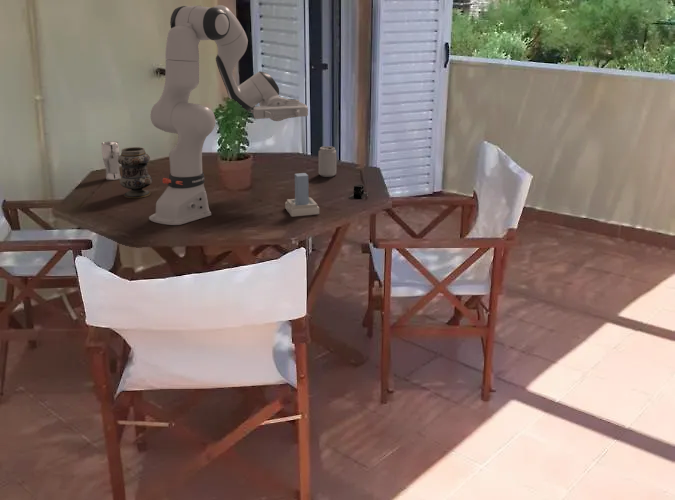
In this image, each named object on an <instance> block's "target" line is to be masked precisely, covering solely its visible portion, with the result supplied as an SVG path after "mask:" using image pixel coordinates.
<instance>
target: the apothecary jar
mask: <svg viewBox="0 0 675 500" xmlns="http://www.w3.org/2000/svg"><path fill="white" fill-rule="evenodd" d="M150 159H151V158H150V156H149V154H148V153H146V149H145V148H144V147H141V146H131V147H130V146H129V147H124V148H122V149H121V153H120V156H119V157H118V162H119V165H121V172H122V173H121V175H122V176H121V178H120V179H119V184H120V185H121V186H122V187H123V188H125V189H129V190H128V191H127V192H125V193H124V197H125V198H127V199H140V198H141V199H142V198H146V197H149V196H150V195H151V193H152V192H151V191H149V190H146V189H144V188H147V187H149V186H150V185H151V184H152V182H153V178H152V176H151V175H150V174H149V171H148V170H149V169H148V163H149V162H150V161H151V160H150Z"/></svg>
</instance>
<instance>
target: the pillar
mask: <svg viewBox="0 0 675 500" xmlns="http://www.w3.org/2000/svg"><path fill="white" fill-rule="evenodd" d="M309 194H310V193H309V174H307V173H306V172H301V173H294V199H295V204H296V205H306V204H309V198H310V197H309V196H310V195H309Z"/></svg>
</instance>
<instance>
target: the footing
mask: <svg viewBox="0 0 675 500" xmlns="http://www.w3.org/2000/svg"><path fill="white" fill-rule="evenodd" d="M284 207H285V209H286V211H287V213H289V215H290V217H302V216H312V215H320V207H319V206H318V203H317V202H316V201H315V200H314V199H313V198H312V197H309V204H306V205H296V204H295V198H290V199H289V198H287V199H286V201H285V206H284Z"/></svg>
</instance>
